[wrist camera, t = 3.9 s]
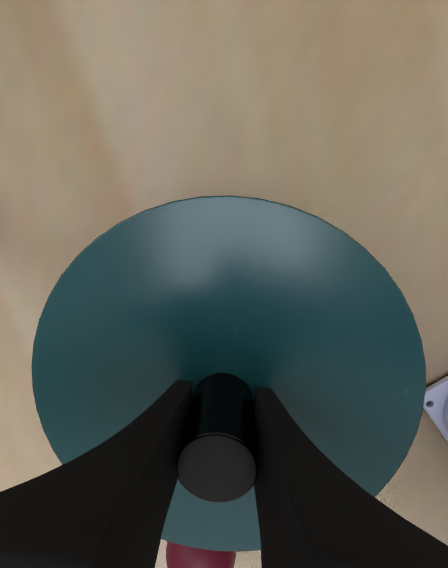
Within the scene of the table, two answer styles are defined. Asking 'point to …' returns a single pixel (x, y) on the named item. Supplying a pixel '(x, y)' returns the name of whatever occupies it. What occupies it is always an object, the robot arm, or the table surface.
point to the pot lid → (230, 350)
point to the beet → (197, 557)
